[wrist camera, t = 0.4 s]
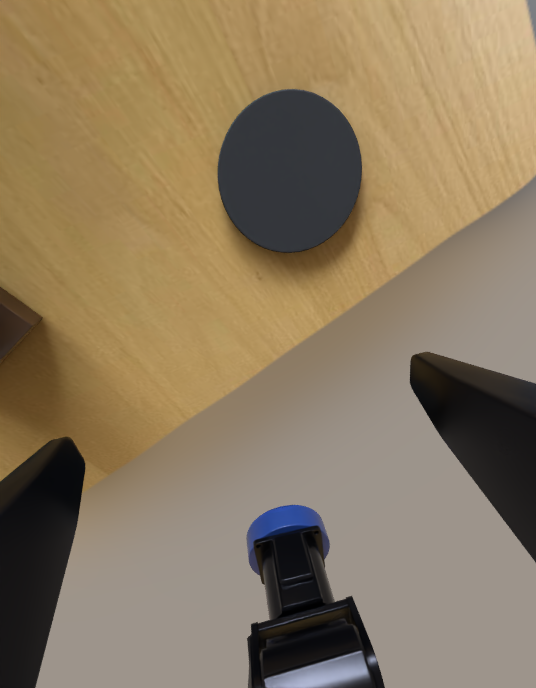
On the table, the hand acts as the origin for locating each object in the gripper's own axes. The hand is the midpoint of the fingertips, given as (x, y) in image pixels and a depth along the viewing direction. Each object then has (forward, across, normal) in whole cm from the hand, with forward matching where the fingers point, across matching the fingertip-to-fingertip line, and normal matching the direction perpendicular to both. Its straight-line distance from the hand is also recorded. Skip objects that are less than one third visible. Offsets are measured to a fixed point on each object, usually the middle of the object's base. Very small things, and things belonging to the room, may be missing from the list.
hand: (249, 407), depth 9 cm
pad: (+16, -5, -4) cm, 18 cm away
